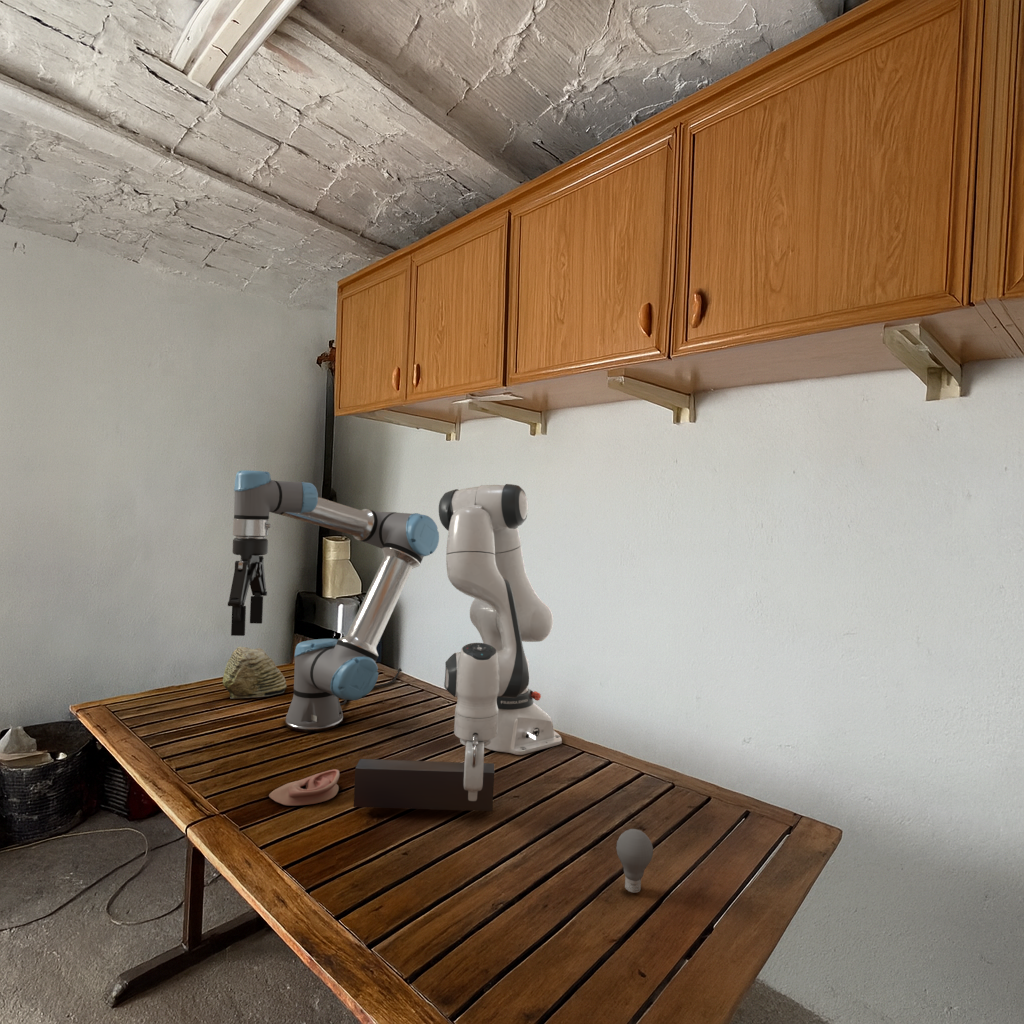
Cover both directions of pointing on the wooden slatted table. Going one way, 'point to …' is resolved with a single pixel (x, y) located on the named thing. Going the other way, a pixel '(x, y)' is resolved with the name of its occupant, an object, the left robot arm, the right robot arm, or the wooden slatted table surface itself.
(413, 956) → the wooden slatted table surface
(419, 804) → the bar
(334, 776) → the anatomical model
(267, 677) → the fossil
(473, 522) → the right robot arm
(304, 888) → the wooden slatted table surface
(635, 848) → the light bulb
